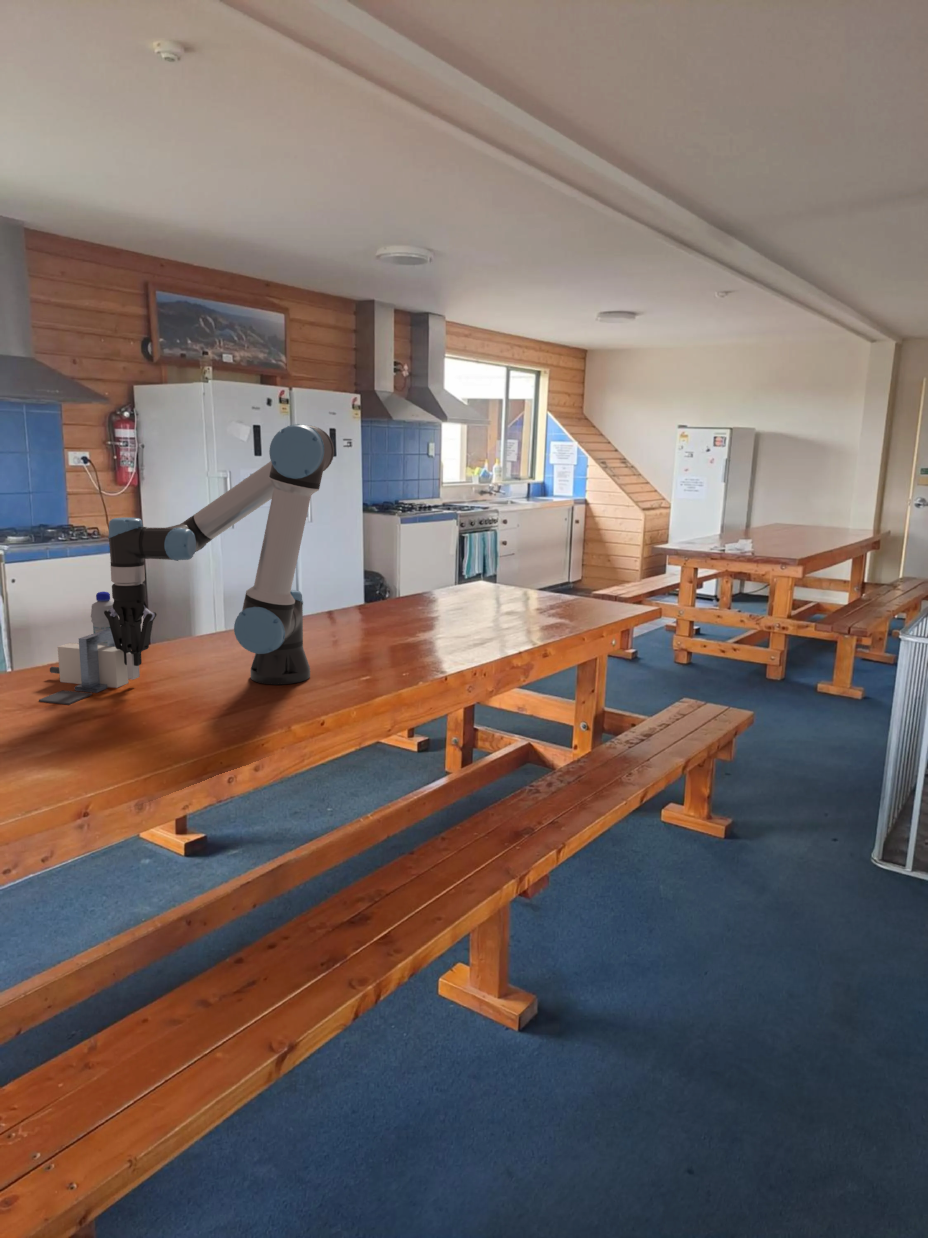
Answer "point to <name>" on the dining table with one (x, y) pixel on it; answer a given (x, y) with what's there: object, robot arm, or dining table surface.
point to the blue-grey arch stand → (92, 660)
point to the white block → (109, 665)
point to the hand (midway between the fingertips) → (133, 677)
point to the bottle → (101, 613)
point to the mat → (65, 697)
